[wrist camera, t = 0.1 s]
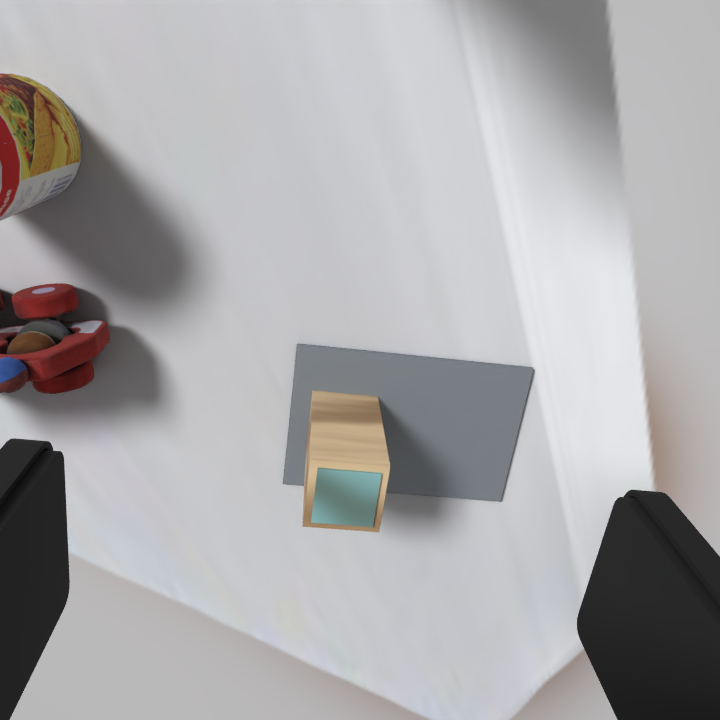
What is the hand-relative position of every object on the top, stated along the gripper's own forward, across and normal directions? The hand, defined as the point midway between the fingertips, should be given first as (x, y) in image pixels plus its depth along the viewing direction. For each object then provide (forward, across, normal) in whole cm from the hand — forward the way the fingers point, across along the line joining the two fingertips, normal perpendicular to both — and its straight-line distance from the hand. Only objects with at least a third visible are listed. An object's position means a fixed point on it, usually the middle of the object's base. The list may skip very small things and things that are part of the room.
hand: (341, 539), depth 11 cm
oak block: (+36, -3, +17) cm, 40 cm away
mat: (+37, -8, +17) cm, 41 cm away
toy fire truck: (+37, +20, +12) cm, 44 cm away
